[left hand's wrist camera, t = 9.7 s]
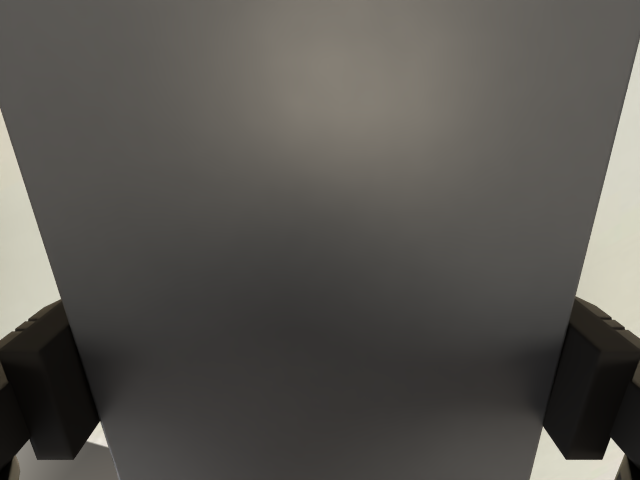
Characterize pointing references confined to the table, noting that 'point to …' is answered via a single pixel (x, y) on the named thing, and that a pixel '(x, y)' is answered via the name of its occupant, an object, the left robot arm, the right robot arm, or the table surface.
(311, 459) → the thick board
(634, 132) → the table surface
